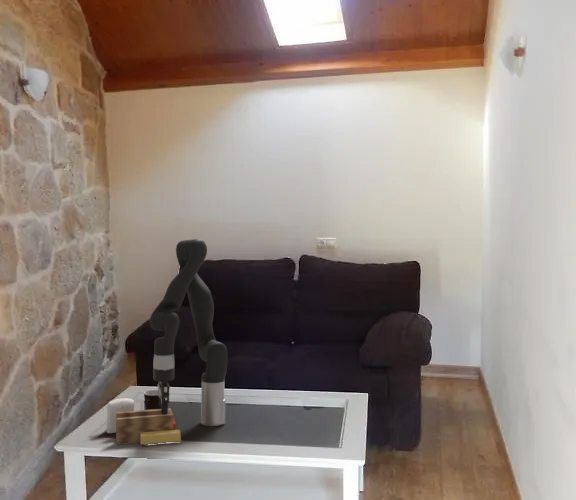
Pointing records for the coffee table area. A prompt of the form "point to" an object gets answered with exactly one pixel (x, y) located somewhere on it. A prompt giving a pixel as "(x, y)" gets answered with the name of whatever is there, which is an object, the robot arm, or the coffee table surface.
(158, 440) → the slat
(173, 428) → the candy bar
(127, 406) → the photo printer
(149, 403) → the coffee mug
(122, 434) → the pocket block
